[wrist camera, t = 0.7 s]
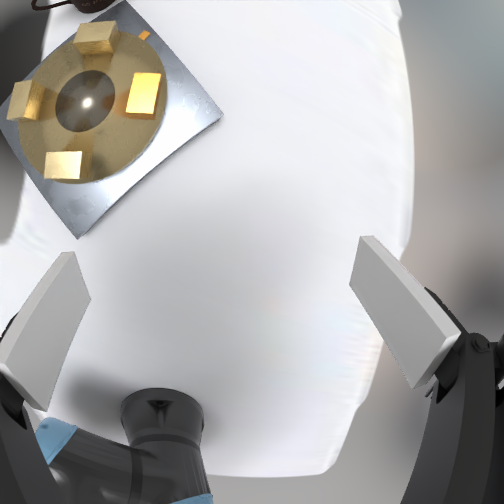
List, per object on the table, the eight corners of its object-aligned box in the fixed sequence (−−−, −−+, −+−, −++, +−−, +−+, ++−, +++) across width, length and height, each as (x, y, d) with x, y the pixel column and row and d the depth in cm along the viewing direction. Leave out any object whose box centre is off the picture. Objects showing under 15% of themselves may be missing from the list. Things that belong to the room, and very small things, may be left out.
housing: (84, 233, 30) (77, 240, 27) (4, 118, 21) (-8, 115, 18) (219, 119, 31) (224, 114, 28) (127, 10, 22) (124, -2, 19)
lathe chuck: (76, 216, 26) (59, 225, 21) (6, 112, 19) (-17, 106, 14) (199, 110, 27) (205, 98, 22) (117, 14, 20) (111, -9, 14)
